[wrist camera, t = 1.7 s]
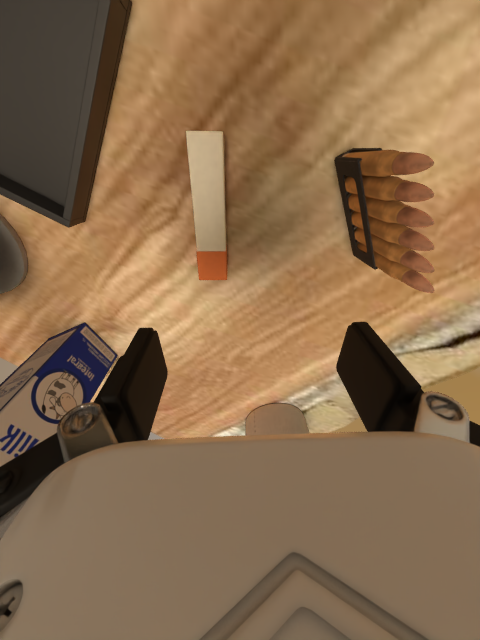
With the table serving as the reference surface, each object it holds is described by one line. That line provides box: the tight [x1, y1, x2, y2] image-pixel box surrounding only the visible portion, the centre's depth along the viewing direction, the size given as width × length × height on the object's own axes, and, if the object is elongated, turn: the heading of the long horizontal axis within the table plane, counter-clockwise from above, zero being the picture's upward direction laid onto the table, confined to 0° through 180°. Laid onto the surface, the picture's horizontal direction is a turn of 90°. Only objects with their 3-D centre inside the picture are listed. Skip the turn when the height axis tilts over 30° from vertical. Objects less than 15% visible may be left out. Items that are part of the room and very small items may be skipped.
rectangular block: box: [186, 131, 227, 280], centre depth 24 cm, size 13×3×3 cm, turn 0°
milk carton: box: [0, 323, 117, 467], centre depth 26 cm, size 7×7×20 cm
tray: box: [0, 0, 132, 227], centre depth 18 cm, size 17×12×3 cm
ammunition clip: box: [334, 148, 434, 293], centre depth 20 cm, size 11×2×12 cm, turn 25°
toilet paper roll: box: [246, 403, 309, 436], centre depth 42 cm, size 12×12×12 cm
